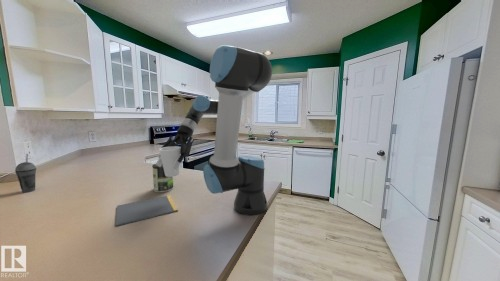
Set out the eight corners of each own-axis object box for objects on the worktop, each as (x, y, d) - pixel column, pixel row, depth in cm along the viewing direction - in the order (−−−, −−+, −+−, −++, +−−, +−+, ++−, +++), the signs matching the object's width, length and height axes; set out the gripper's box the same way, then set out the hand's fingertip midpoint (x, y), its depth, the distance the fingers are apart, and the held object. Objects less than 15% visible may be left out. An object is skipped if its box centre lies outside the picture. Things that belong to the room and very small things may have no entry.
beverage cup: (16, 192, 99) (10, 154, 96) (36, 187, 105) (31, 152, 103) (20, 194, 96) (14, 156, 93) (41, 190, 102) (36, 153, 100)
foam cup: (186, 171, 96) (184, 146, 93) (176, 178, 87) (173, 151, 84) (168, 170, 97) (166, 146, 95) (157, 177, 88) (154, 150, 86)
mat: (177, 211, 82) (177, 209, 82) (115, 226, 70) (115, 224, 70) (169, 196, 97) (169, 194, 97) (117, 206, 85) (117, 205, 85)
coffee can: (177, 186, 110) (176, 162, 108) (166, 193, 100) (165, 167, 98) (161, 184, 112) (160, 161, 110) (149, 191, 102) (147, 166, 100)
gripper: (207, 134, 99) (189, 173, 87) (174, 132, 107) (153, 167, 95) (201, 125, 93) (180, 165, 81) (166, 123, 101) (143, 160, 89)
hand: (166, 166), depth 88 cm, fingers closed on foam cup, 9 cm apart
